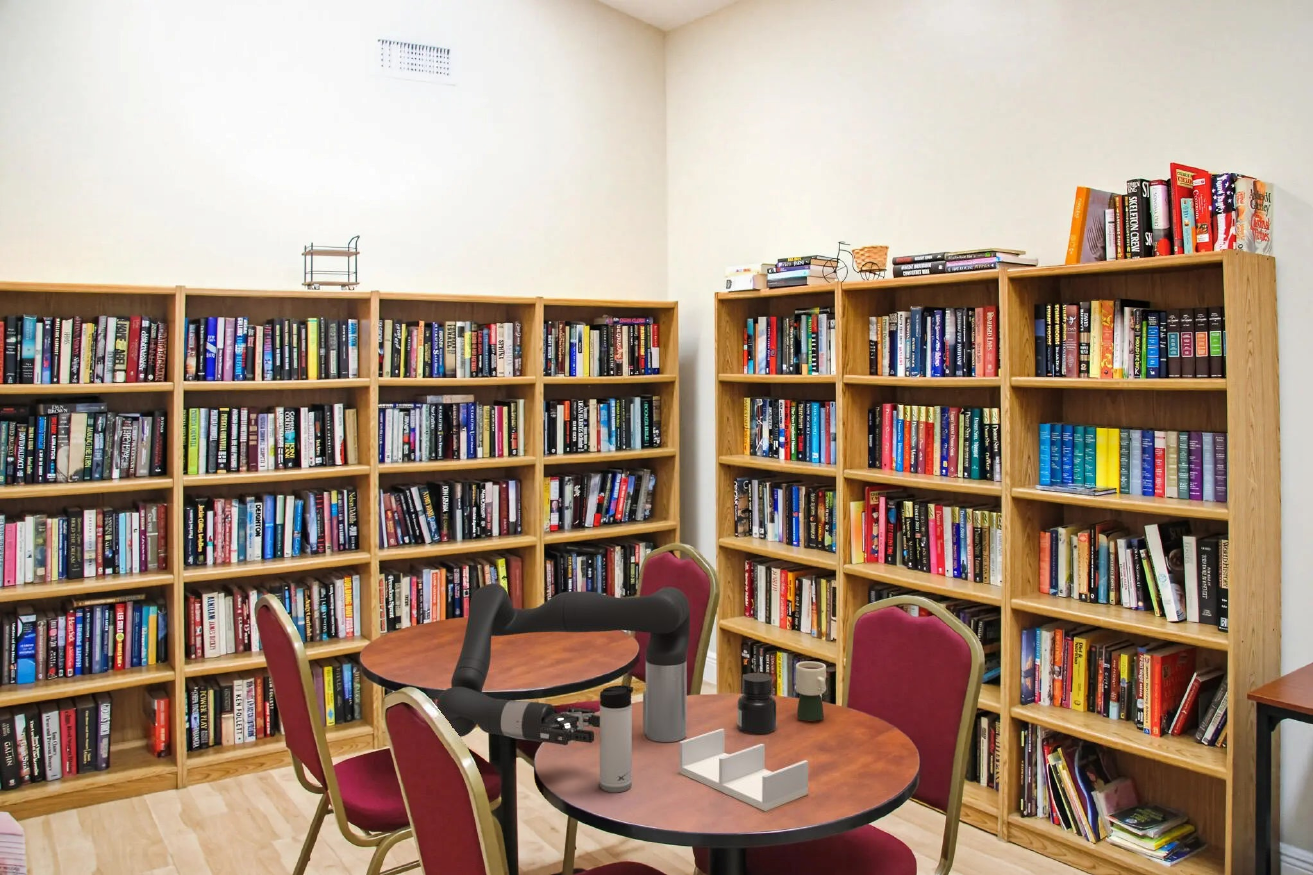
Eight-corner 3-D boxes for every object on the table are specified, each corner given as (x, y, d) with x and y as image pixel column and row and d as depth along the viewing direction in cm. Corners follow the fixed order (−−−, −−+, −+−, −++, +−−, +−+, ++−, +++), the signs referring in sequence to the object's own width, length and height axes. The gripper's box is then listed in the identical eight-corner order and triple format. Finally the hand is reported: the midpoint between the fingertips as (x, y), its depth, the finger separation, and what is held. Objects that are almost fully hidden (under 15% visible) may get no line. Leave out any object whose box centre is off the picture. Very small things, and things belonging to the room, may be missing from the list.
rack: (679, 772, 208) (679, 741, 207) (721, 758, 216) (721, 728, 215) (765, 811, 190) (765, 777, 189) (807, 793, 197) (808, 761, 197)
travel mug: (629, 794, 197) (629, 693, 196) (596, 791, 199) (596, 690, 197) (636, 781, 203) (636, 683, 202) (604, 778, 205) (604, 681, 203)
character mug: (836, 724, 237) (836, 669, 236) (810, 728, 234) (811, 673, 233) (810, 710, 246) (810, 657, 246) (785, 714, 243) (785, 661, 243)
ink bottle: (750, 718, 240) (751, 668, 240) (783, 726, 235) (784, 675, 235) (729, 730, 233) (729, 678, 232) (762, 738, 227) (763, 685, 227)
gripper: (511, 713, 200) (587, 722, 194) (543, 692, 213) (615, 700, 208) (512, 750, 200) (587, 761, 195) (543, 727, 214) (615, 736, 208)
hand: (602, 729), depth 201 cm, fingers open, 8 cm apart
